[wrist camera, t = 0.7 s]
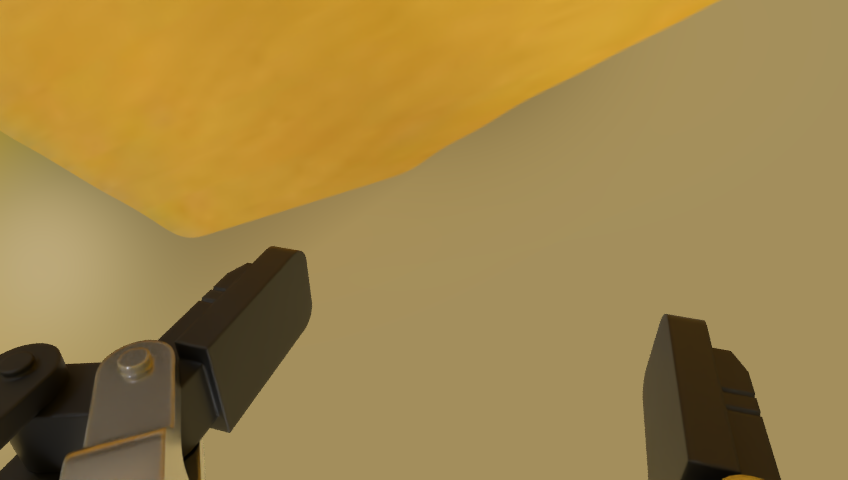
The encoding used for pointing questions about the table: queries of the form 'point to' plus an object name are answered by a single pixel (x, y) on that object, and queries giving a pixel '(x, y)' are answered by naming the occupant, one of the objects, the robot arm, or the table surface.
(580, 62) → the table surface
